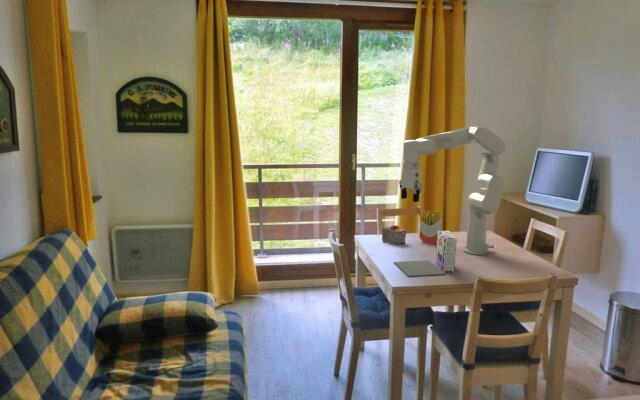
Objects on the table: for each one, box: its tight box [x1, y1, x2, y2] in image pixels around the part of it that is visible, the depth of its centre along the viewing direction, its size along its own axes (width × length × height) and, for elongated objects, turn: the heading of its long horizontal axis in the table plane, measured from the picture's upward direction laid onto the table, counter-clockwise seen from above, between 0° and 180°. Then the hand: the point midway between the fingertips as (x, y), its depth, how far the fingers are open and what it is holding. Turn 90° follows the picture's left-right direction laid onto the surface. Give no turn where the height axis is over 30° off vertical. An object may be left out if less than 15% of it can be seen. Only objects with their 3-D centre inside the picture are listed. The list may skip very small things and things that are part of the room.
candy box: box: [435, 230, 457, 273], centre depth 227 cm, size 14×6×16 cm, turn 179°
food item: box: [381, 225, 407, 246], centre depth 270 cm, size 14×8×10 cm, turn 45°
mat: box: [393, 259, 447, 278], centre depth 226 cm, size 18×20×1 cm
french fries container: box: [418, 209, 442, 245], centre depth 270 cm, size 5×11×18 cm, turn 55°
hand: (409, 200), depth 237 cm, fingers open, 9 cm apart
